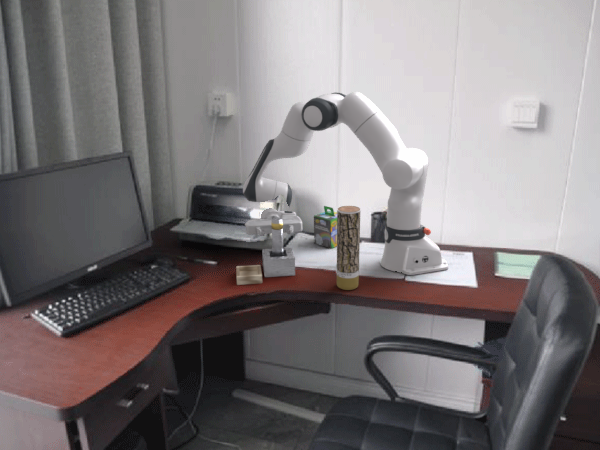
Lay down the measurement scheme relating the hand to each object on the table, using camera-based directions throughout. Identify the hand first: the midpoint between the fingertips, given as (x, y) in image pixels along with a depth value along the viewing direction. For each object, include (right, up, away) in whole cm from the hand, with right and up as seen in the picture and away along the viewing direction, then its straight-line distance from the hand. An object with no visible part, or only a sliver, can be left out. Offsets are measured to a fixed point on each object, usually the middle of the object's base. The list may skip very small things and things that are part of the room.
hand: (275, 233), depth 173 cm
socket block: (+1, -12, -5) cm, 13 cm away
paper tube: (+23, -16, -17) cm, 33 cm away
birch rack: (-8, -14, -11) cm, 20 cm away
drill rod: (+1, -12, -5) cm, 13 cm away
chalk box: (+20, -5, +20) cm, 28 cm away
